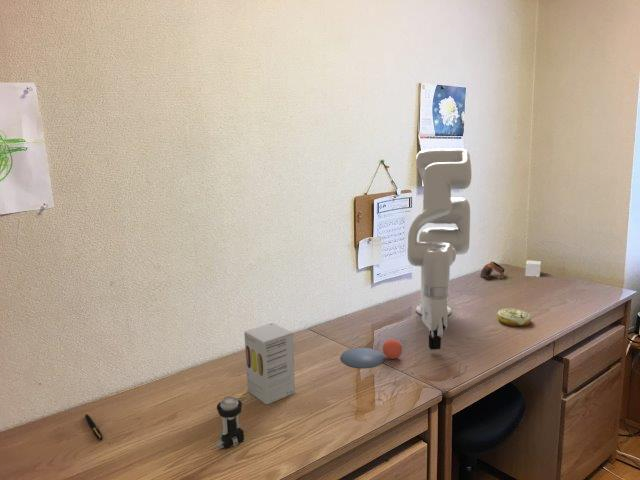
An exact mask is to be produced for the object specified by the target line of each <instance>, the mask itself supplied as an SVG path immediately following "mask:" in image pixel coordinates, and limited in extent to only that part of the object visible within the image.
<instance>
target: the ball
mask: <svg viewBox="0 0 640 480" xmlns="http://www.w3.org/2000/svg"><path fill="white" fill-rule="evenodd" d="M382 351H383V352H382V353H383V355H384V357H387V358H388V359H392V360H394V359H397V358H399V357H400V356H401V354H402V352H403V347H402V345H401V343H400V342H399V340H397V339H393V338H391V339H388V340H386V341H385V342H384V343H383V346H382Z"/></svg>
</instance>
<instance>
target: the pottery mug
mask: <svg viewBox="0 0 640 480" xmlns="http://www.w3.org/2000/svg"><path fill="white" fill-rule="evenodd" d="M493 271H496V272H497V273H499V274H500V276H499V279H501V280H502V279H503V277H504V276H505V275H504V272H506V270H505V268H504V267H503V266H501V265H500V264H498V263H497V262H495V261H492V260H491V261H490V262H489V263H486V264H485V265H484V266H483V268H482V269H481V272H480V277H481V279H484V278H486V279H489V277H490V276H491V274H492V273H493Z"/></svg>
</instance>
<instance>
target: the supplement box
mask: <svg viewBox="0 0 640 480" xmlns="http://www.w3.org/2000/svg"><path fill="white" fill-rule="evenodd" d="M243 336H244V350H245V364H246V365H245V369H246V386H247V388H246V389H247V392H249V394H251V395H252V396H254V397H255V398H257V399H258V400H259V401H261V402H262V403H263V404H265V405H269V404H272V403H273V402H276V401H279V400H281V399H283V398H286V397H289V396H290V395H292V394H295V393H296V376H295V375H296V374H295V373H296V371H295V349H294V348H295V347H294V332H293V331H290V330H288V329H286V328H284V327H282V326H280V325H278V324H276V323H274V322H272V323H271V322H270V323H267V324H265V325H262V326H261V325H260V326H258V327H254V328H252V329H251V328H250V329H248V330H244V334H243Z"/></svg>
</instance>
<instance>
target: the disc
mask: <svg viewBox="0 0 640 480" xmlns="http://www.w3.org/2000/svg"><path fill="white" fill-rule="evenodd" d="M340 360H341V362H342V363H343V364H345V365H347V366H350V367H352V368H358V369H367V368H374V367H378V366H379V365H381V364H382V363H384V362H385V354H384V353H383V352H381V351H379V350H376V349H373V348H369V347H356V348H350V349H348V350H347V349H346V350H345V351H344V352H342V353H341V354H340Z"/></svg>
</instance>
